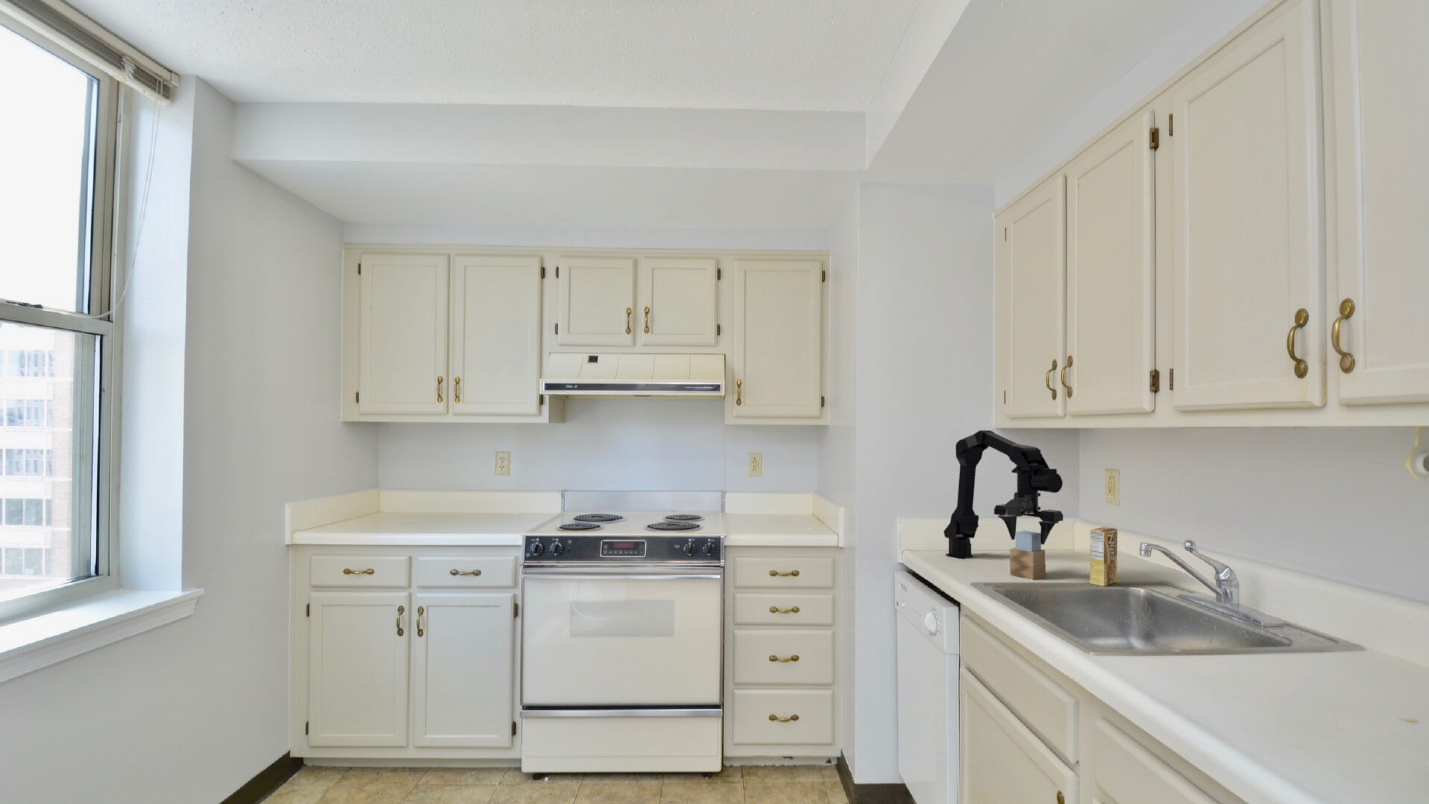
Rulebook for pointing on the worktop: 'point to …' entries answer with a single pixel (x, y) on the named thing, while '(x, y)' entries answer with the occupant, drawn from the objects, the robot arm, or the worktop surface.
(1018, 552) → the tower top
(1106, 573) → the candy box
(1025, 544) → the blue block
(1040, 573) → the tower base
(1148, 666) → the worktop surface
